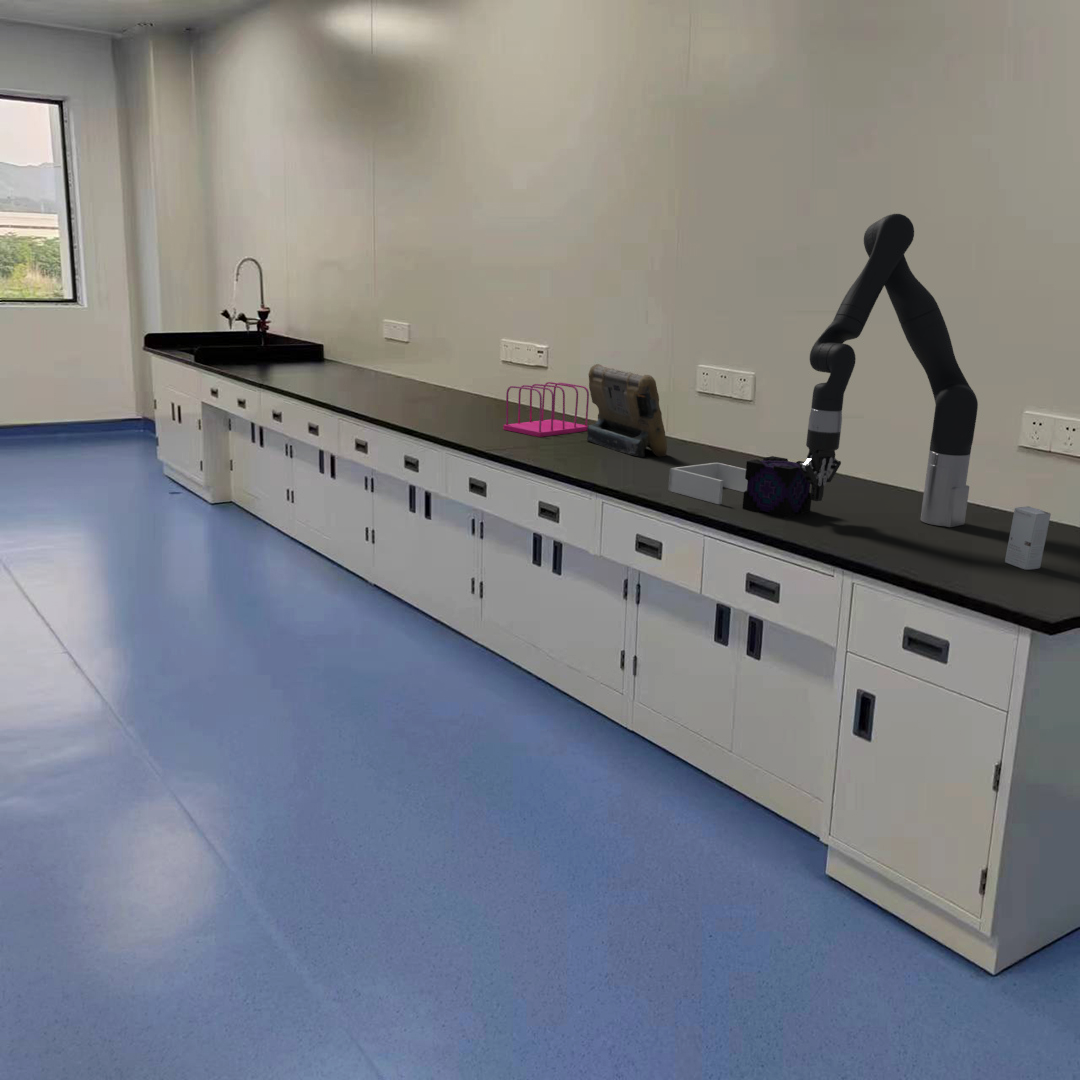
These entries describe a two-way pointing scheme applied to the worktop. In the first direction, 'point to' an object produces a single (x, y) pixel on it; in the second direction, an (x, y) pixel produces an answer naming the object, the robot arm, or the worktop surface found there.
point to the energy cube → (776, 487)
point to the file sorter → (543, 426)
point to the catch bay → (707, 480)
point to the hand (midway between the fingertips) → (816, 500)
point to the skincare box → (1027, 537)
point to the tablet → (626, 412)
